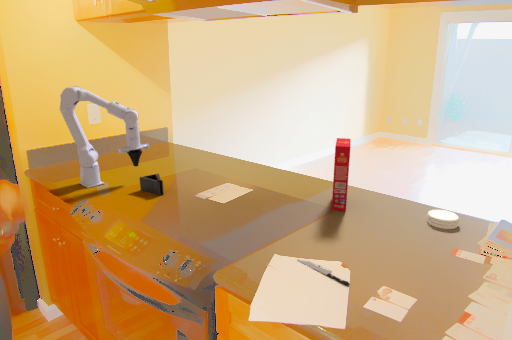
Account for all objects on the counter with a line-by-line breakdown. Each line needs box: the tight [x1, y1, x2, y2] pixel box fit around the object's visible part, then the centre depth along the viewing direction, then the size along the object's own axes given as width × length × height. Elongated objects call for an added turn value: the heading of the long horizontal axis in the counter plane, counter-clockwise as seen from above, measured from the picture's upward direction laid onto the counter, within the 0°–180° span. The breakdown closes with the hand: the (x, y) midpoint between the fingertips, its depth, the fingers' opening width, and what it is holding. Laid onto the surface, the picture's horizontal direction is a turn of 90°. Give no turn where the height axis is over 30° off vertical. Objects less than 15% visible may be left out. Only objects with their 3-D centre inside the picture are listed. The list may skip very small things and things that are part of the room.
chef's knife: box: [297, 259, 351, 287], centre depth 103 cm, size 19×1×3 cm
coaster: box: [426, 209, 460, 230], centre depth 131 cm, size 10×10×4 cm
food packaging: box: [331, 137, 352, 212], centre depth 146 cm, size 15×5×25 cm, turn 166°
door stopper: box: [139, 173, 165, 197], centre depth 162 cm, size 9×6×12 cm
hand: (135, 165), depth 173 cm, fingers closed
